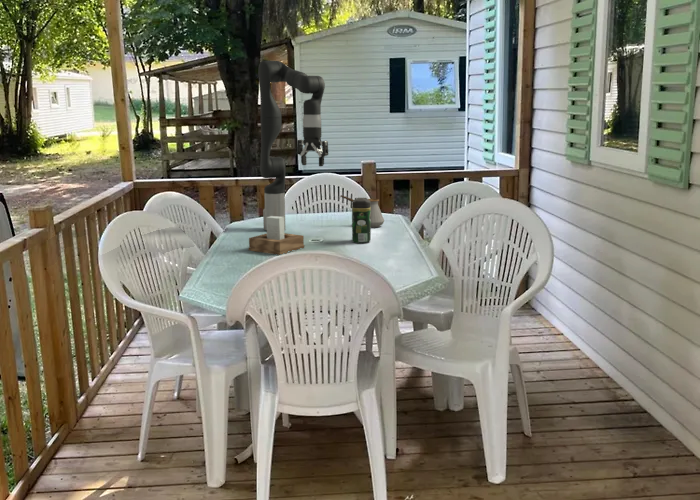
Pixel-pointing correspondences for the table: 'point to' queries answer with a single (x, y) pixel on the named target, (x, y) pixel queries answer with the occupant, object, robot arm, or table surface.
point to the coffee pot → (373, 212)
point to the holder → (276, 244)
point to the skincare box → (275, 227)
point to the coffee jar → (361, 220)
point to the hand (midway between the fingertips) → (312, 165)
